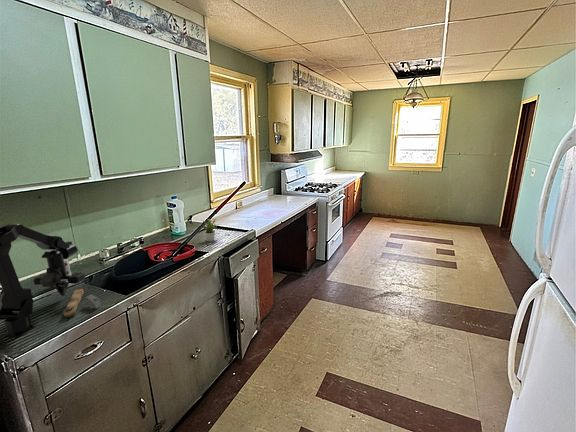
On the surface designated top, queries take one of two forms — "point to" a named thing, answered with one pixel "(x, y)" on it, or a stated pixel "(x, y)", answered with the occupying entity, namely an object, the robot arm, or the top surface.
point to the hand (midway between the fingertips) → (63, 295)
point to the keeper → (94, 301)
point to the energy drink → (67, 266)
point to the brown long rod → (73, 303)
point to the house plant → (209, 230)
